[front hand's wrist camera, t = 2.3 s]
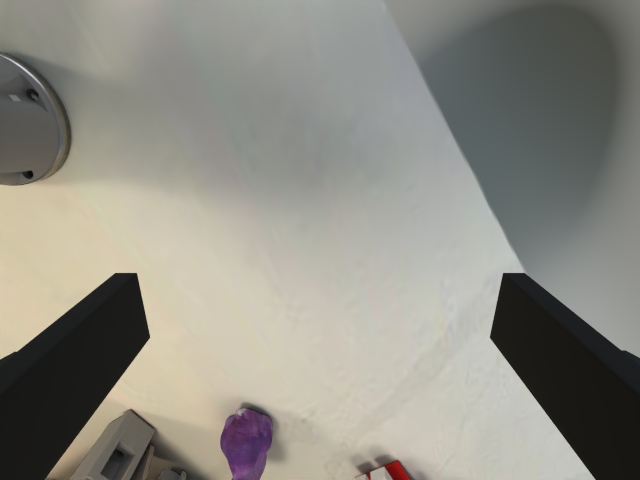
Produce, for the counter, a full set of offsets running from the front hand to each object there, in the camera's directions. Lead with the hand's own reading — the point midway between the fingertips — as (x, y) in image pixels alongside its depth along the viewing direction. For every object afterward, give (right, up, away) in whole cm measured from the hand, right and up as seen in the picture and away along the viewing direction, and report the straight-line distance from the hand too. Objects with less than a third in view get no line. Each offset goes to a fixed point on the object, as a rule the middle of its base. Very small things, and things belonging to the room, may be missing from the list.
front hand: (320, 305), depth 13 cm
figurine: (-12, -30, +48) cm, 58 cm away
